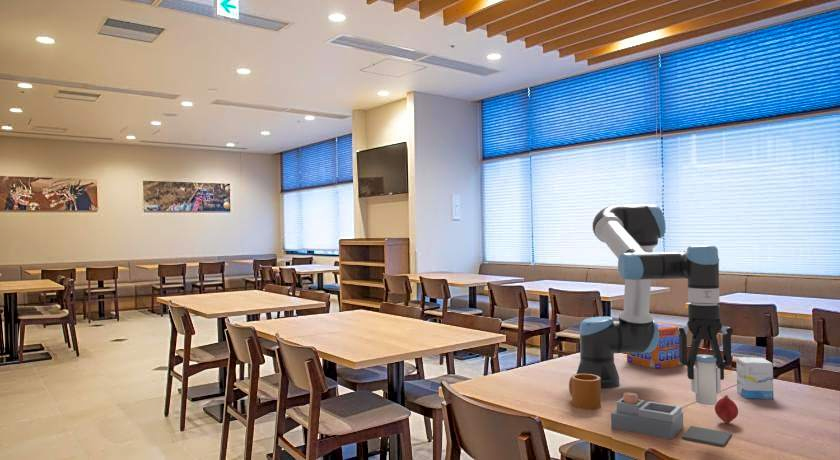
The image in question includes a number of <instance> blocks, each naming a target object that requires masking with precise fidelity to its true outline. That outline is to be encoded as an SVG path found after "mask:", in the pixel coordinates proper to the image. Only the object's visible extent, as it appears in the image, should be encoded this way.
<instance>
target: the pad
mask: <svg viewBox="0 0 840 460" xmlns="http://www.w3.org/2000/svg"><path fill="white" fill-rule="evenodd" d="M731 437H732V433H731V432H728V431H722V430H718V429H716V430H715V429H711V428H705V427H700V426H695V425H691V426H689V428H687V430H686V431H685V432H684V433H683V434H682V436H681V440H686V441H692V442H697V443H702V444H707V445H713V446H718V447H722V448H724V447H725V445H726V444H727V443H728V442H729V440H730V438H731Z"/></svg>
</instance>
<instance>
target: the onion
mask: <svg viewBox="0 0 840 460" xmlns="http://www.w3.org/2000/svg"><path fill="white" fill-rule="evenodd" d="M714 411H715V414H716V416H717V417H718V418H719V419H720V420H721V421H722V422H724V423H725V424H730V423H731V422H732V421H734V420H735V419H736V418H737V416H738V415H739V408H738V406H737V405H736V403H735V402H734V400H732V399H731V398H729V394H726V395H724V396H723V397H721V398H720V399H718V400H717V404H715V406H714Z"/></svg>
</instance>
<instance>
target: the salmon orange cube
mask: <svg viewBox="0 0 840 460" xmlns="http://www.w3.org/2000/svg"><path fill="white" fill-rule="evenodd" d="M623 397H624V403H630V404H637V399H638V394H637V393H635V392H623Z"/></svg>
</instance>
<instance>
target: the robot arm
mask: <svg viewBox="0 0 840 460" xmlns="http://www.w3.org/2000/svg"><path fill="white" fill-rule="evenodd" d="M592 231H593V234H594V236H595V237H596V239H598V240H599V241H600V242H602V243H605V244H606V245H607V247H608V248H609V250H610V251H611V252H612V254H614V256H615V257H616V258H617V259H618V260H617V269H618V273H619V277H621V278H622V279H624V292H623V293H624V294H623V295H624V297H623V311H621V312H620V313H619V315H618V320H614V318H613V317H611V316H608V315H607V316H606V315H605V316H592V317H588V318H585V319H583V320H582V321H581V322H580V324H579V333H578V335H579V355H580V356H579V358H580V360H579V362H578V363H579V365H578V366H577V370H576V373H575V374H593V375H597V376H599V377H600V378H601V389H602V388H613V387H617V386H619V385H620V375H619V373H618V369H617V367H616V364H615V359H614V358H615V356H614V354H627V353H639V354H641V353H648V352H652V351H653V350H654V349H655V348H656V346H657V344H658V339H659V332H658V325H657V323H656V322H657V321H656V320H654V317H653V316H652V314H650V302H651V301H650V300H651V289H652V288H651V286H652V285H651V284H652V280H674V279H675V280H676V279H677V280H682V279H683V280H687V301H688V303H689V304H688V306H687V308H688V310H687V311H688V314H687V315H688V319H687V320H688V321H687V323H686V324H685V325H683V326H681V327H677V331H678V334H679V361H680V363H682V364H683V365H682V366H686V369H687V371H686V372H687V375H686V376H687V379H689V380H691V391H692V392H693V393H695V394H696V393H698V376H697V368H696V367H695V361H696V357H697V355H698V352H699V348H700V344H701V342H702V340H708V341H709V343H710V347H711V351H712V354H713V356H715V357H717V362H716V385H717V394H721V391H722V390H721V389H722V388H721V387H722V384H721V382H722V381H724V379H725V368H726V367H729V366H732V364H733V362H732V335H733V332H734V329H733V328H731V327H729V326H724V325H723V324H722V323H721V309H720V308H721V307H720V305H719V303H720V258H719V250H718V247H716V246H715V245H690V246H688V247H687V249H686V251H685V250H684V251H683V250H682V251H674V252H673V251H672V252H671V251H669V252H668V251H666V252H654V251H653V250H654V248H656V246H658V243H659V239H661V238H663V237H664V236H665V233H666V221H665V216H664V214H663V211H662V210H661V208H660V207H659V206H658V205H656V204H646V203H645V204H644V203H642V204H641V203H639V204H636V203H635V204H621V205H620V204H615V205H614V204H613V205H609V206H607V207H604V208H602V209H601V210H599V212H598V213H596V215H595V217H594V219H593V221H592ZM689 331H690V333H691V334H692V337H691V344H690V348H689V351H688V345H687V344H688V341H687V339H688V338H687V334H688V332H689ZM720 331H721V334H722V352H721V349H720V346H719V340H718V338H717V335H718V333H720ZM721 380H722V381H721Z"/></svg>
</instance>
